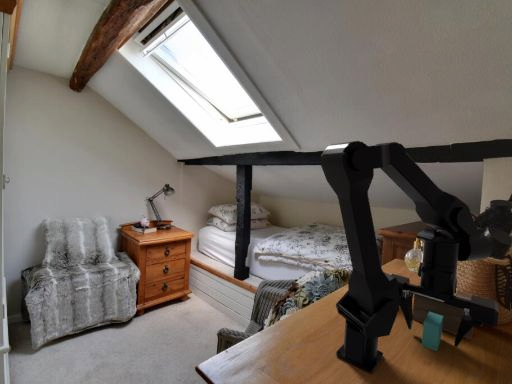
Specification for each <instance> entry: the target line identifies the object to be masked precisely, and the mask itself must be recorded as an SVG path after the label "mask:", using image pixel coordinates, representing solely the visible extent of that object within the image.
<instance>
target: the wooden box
mask: <svg viewBox="0 0 512 384" xmlns="http://www.w3.org/2000/svg"><path fill="white" fill-rule="evenodd" d="M417 286H420V283H419V284H418V285H417ZM472 295H473V294H469V293H465V292H461V291H458V293H457V295H456V296H457V297H460V298H464V299H467V300H471V297H472ZM475 296H477V295H475ZM463 311H464V309H461V308H458V307H455V306H451V305H448V304H445V303H441V302H438V301H434V300H431V299H428V298H424V297H421V296H418V295H414V294H413V303H412V315H413V320H414V321H416V322H419V323H422V324H424V321H425V319H426V317H427V315H428V313H429V312H432V313H435V314H438V315H441V316H443V324H442V331H446V332H447V333H451V334H453V335H455V336H456V335H457V331H458V328H459V325H460V321H461V318H462V315H463ZM474 327H475V326H473V327H472V328H471V329H470V330H469V331H468V332H467V333H466V334H465V336H464V337H463V338H465V339H468V340H470V341H472V339H473V335H474V334H473V333H474Z"/></svg>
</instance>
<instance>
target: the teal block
mask: <svg viewBox="0 0 512 384" xmlns="http://www.w3.org/2000/svg"><path fill="white" fill-rule="evenodd" d="M442 324H443V316H441V315H438V314H435V313H432V312H429V313H428V315H427V317H426V319H425V321H424V323H423V329H422V339H421V346H422V347H425V348H427V349H430V350H433V351H435V352H437V351H438V348H439V345H440V343H441V340H442V333H443V330H442Z"/></svg>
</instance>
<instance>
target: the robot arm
mask: <svg viewBox="0 0 512 384" xmlns="http://www.w3.org/2000/svg"><path fill="white" fill-rule="evenodd" d="M319 161H320V167H321V169H322V172H323V174H324V177H325V180H326V182H327V184H328V185H329V187H330V188H331V189H332V190H333V191H334V193H335V194H336V197H337V199H338V204H339V210H340V213H341V219H342V224H343V228H344V233H345V234H344V235H345V238H346V243H347V248H348V253H349V258H350V262H351V267H352V271H351V273H350V276H349V278H348V280H347V287H348V290H347V291H346V292H345V293H344V294H343V295H342V297H341V298H340V299H339V300H338V301H337V302H336V303H335V307H336V311H337V314H339V315H340V316H341V317H342V318H344V319H345V324H344V339H343V344H342V345H341V346H340V347H339V348H338V350H337V351H336V353H335V355H336V356H337V357H339V358H340V359H342V360H344V361H346V362H348V363H350V364H352V365H354V366H356V367H358V368H360V369H362V370H363V371H366V372H367V373H371V374H372V373H373V372H374V370H375V369H376V368H377V366H378V365H379V363H380V361H381V360H382V358H383V356H384V352H383V351H380V350H378V344H379V338H384V337H388V336H390V335H391V332H392V329H393V326H394V324H395V321H396V319H397V317H398V313H399V311H402V312H401V313H402V315H403V317H404V320H405V324H406V327H407V328H408V330H409V331H410V330H412V327H413V301H414V295H418V296H421V297H424V298H428V299H431V300H434V301H438V302H441V303H445V304H448V305H451V306H455V307H458V308H461V309H464V311H463V315H462V318H461V321H460V325H459V328H458V331H457V335H456V334H455V339H454V347H455V348H458V347H459V346H460V343H461V342H462V340H463V339H464V338H465V337H464V336H465V334H466V333H467V332H468V331H469V330H470V329H471V328H472V327H473V326H474V327H475V326H477V327H479V328H480V327H483V324H484V325H488V326H490V327H497V326H498V323H499V315H500V313H499V303H498V302H496V300H493V299H489V298H485V297H482V296H475V295H472V297H471V300H467V299H464V298H460V297H457V296H454V293H456V288H457V286H458V285H457V284H458V278H457V270H458V262H468V261H470V262H471V261H481V260H486V259H488V258H489V257H490V256H491V254H492V252H493V247H494V246H492V243H491V241H490V239H489V238H488V237H487V236H486V235H485V234H484V228H481V227H477V225H476V222H475V220H474V217H473V216H472V213H471V209H470V207H469V205H468V204H467V203H466V202H465V201H463V200H462V199H460V198H459V197H457V196H456V195H454V194H452V193H449V192H446V191H444V190H443V189H442V188H440V187H439V186H438V185H437V184H436V183H435V181H433V180H432V179H431V178H430V177H429V176H428V175H427V174H426V172H424V170H423V169H422V168H421V167H420V166H419V165H418V163H416V161H414V160H413V158H412V157H410V155H409V153H408V152H406V147H405V146H404V145H403V144H402V143H399V142H398V141H390V142H381V143H376V144H375V145H367V144H366V143H365V142H363V141H360V140H355V141H353V140H352V141H347V142H339V143H332V144H330V145H328V146H327V147H326V148H325V149H324V150H323V152H322V154H321V155H320V159H319ZM376 169H380V170H382V172H383V173H385V175H386V176H388V178H389V179H391V181H392V182H393V183H394V184H395V185H397V187H398V188H399V189H400V190H401V191H402V192H403V193H404V194H405V195H406V196H407V197H408V198H409V199H410V200H412V202H413V203H414V205H415V207H414V208H415V209H414V210H415V213H416V214H417V216H418V217H419V219H420V220H421V223H423V224H424V225H427V226H430V227H427V226H426V227H425V228H424V229H423V230H422V231H419V232H418V233H417V234H416V238H417V239H419V240H423V241H424V242H423V243H424V244H423V252H422V262H421V261H420V263H419V264H418V265H419V266H418V271H417V277H419V278H420V283H419V284H420V286H418V285H416V284H412V283H410V277H406V276H402V275H399V274H395V273H392V274H389V273H387V272H385V271H383V267H382V262H381V258H380V257H381V256H380V251H379V247H378V242H377V241H378V240H377V235H376V231H375V230H376V229H375V226H374V220H373V214H372V209H371V205H370V203H371V202H370V197H369V190H370V187H371V184H372V182H373V179H374V176H375V175H374V174H375V173H374V172H375V171H374V170H376Z"/></svg>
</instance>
